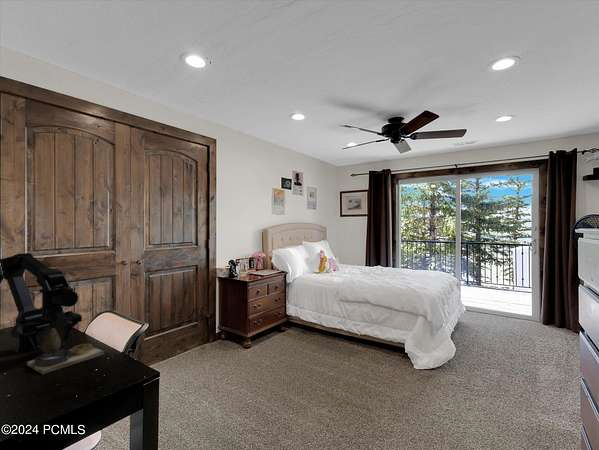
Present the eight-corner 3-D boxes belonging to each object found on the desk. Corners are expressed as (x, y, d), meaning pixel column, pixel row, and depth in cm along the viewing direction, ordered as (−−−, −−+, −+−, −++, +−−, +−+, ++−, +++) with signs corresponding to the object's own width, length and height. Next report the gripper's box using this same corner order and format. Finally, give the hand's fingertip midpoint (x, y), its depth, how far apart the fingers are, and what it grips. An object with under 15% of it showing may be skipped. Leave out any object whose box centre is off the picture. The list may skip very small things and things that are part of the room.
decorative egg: (39, 358, 112) (40, 331, 112) (41, 353, 117) (41, 327, 117) (60, 354, 116) (60, 328, 116) (61, 349, 120) (61, 324, 121)
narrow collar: (69, 354, 115) (69, 347, 115) (87, 348, 120) (87, 342, 120) (77, 357, 112) (77, 350, 112) (94, 352, 117) (95, 345, 117)
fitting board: (27, 365, 107) (27, 361, 107) (87, 347, 123) (87, 344, 123) (42, 374, 100) (42, 370, 100) (103, 354, 116) (103, 351, 116)
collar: (31, 363, 106) (31, 356, 106) (63, 354, 115) (63, 347, 115) (42, 370, 101) (43, 363, 101) (75, 360, 110) (75, 353, 110)
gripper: (29, 313, 104) (28, 358, 104) (89, 302, 120) (88, 341, 120) (16, 308, 110) (15, 351, 110) (75, 298, 126) (74, 336, 126)
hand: (50, 345), depth 116 cm, fingers open, 9 cm apart
